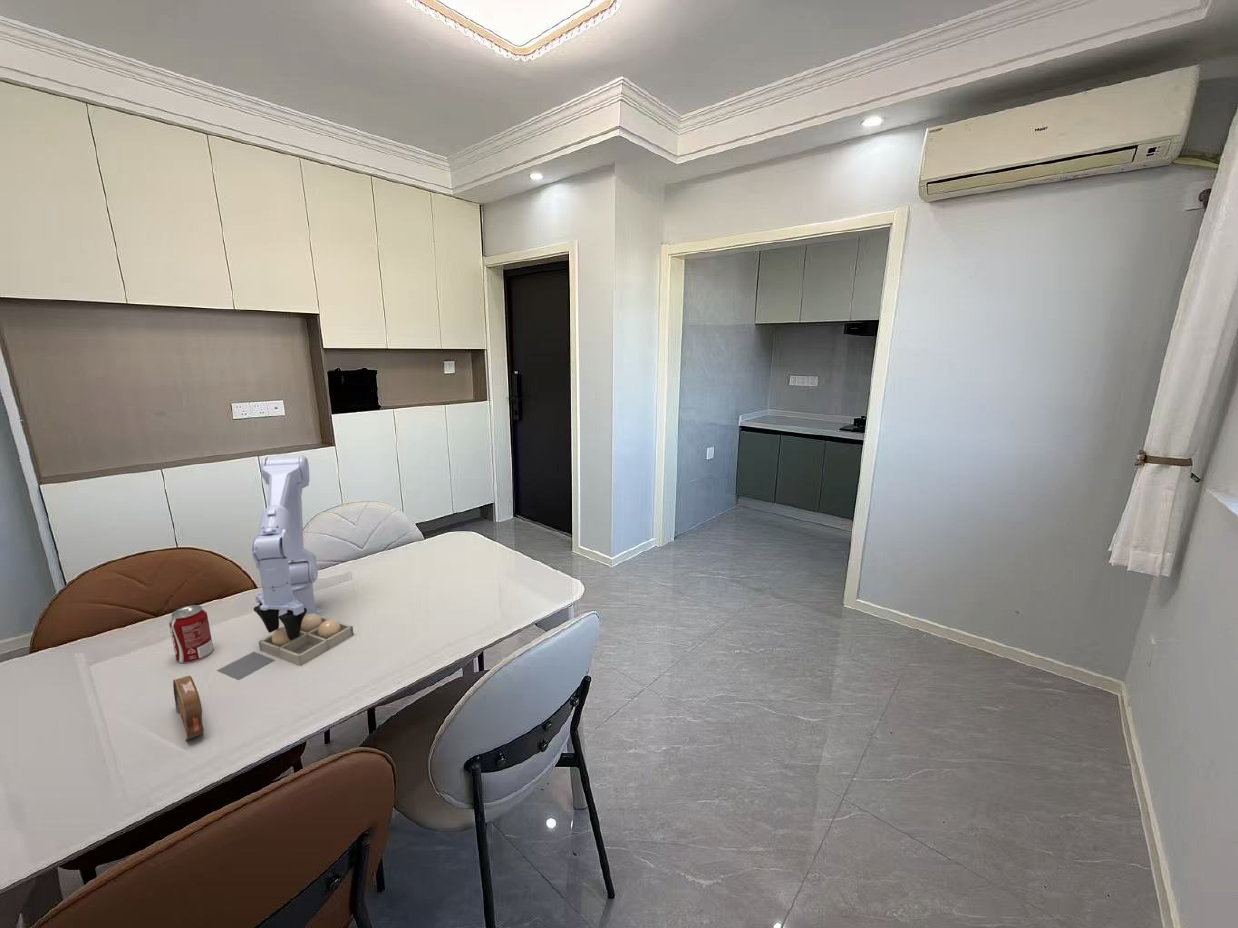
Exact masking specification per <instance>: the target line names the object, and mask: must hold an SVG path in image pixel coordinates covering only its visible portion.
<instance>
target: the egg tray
mask: <svg viewBox="0 0 1238 928" xmlns="http://www.w3.org/2000/svg"><path fill="white" fill-rule="evenodd" d="M319 616H320V617H321V619H322V623H323V622H324V621H326V620H333V619H331V618H328V617H325V616H323V615H319ZM336 621H337V620H336ZM337 622H338V623H339V624H340V627H341V630H340V632H339V633H337V634H335V635H333V636H332V637H330V638H328V639H324V638H321V637H319V636H318V628H319V627H317V628H316V629H314V630H312V631H310V632H308V633H307V632H304V631H301V630H300V634H299V637H297V638H296V639H295V640H293V641H291V642H289V643H287V644H285V645H283V646H281V647H278V646H275V645H273V643H272V636H273V634H271V635H269V636H267V637H265V638H263V639H261V640H259V641H258V647H259V651H260V652H261V653H265V654H268V655H271V656H273V657H276V658H278V659H281V660H284V661H286V662H288V663H291V664H293V665H296V666H299V667H301V666H302V665H304V664H306V663H308V662H309V661H311V660H312V659H315V658H316V657H319V656H320V655H321V654H323V653H326V652H327V651H328V650H330V649H331V648H333V647H335V646H337V645H339V644H340V643H342V642H344V641H346V640H347V639H349V638H350V637H352V636H354V626H353V625H350V624H347V623H343V622H341V621H337ZM308 644H309V645H311V647H310V648H308V649H307V650H305V651H303V652H301V653H296V652H295V651H297V650H299V649H300V648H302V647H304V646H307V645H308Z"/></svg>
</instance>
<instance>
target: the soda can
mask: <svg viewBox="0 0 1238 928" xmlns="http://www.w3.org/2000/svg"><path fill="white" fill-rule="evenodd" d="M170 617H171V618H170V620H169V621H168V624H169V625H168V626H169V632H170V635H171V636H170V637H171V640H172V644H173V645H172V646H173V651H174V655H175V661H176V662H177V663H179V664H189V663H190V664H191V663H195V662H198V661H201V660H203V659H205V658H206V657H209V656H210V655H211V654H212V653H213V651H214V646H213V645H214V644H213V639H212V635H211V628H210V623H209V618H208V613H207V611H205V610H204V609H203V606H201V605H199V604H197V605H196V604H195V605H188V606H183V607H181V608H178V609H176V610H175V611H173V612H172V613H171V616H170Z"/></svg>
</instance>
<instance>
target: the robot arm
mask: <svg viewBox="0 0 1238 928" xmlns="http://www.w3.org/2000/svg"><path fill="white" fill-rule="evenodd" d="M260 473H261V477H262V479H264V483H265V484H266V485H268V501H267V502H268V503H267V504H268V505H267V507H266V508H264V509H263V510H262V511H261V515H260V521H259V522H260V523H259V529H258V534H257V537H255V538H253V540H252V542H251V554H252V558H253V561H254V563H255V567H256V569H258V570H259V576H260V584H261V591H262V592H260V593H258V594H256V595H255V602H256V603H257V604H258V605H257V606H254V607H253V611H254V612H255V613H256V614H257V615H258V616H259V617H260V620H262V621H261V622H263V625H264V626H265V628H266V630H267V632H268V633H269V634H271V633H274V632H275V631H276V630H277V629H279V628H280V622H281V623H282V624H283V627H285V629H286V632H287V636H288V638H289V640H293V639H295V638H297V637H299V634H300V629H301V624H302V621H303V618H304V616H306V615H308V614H317V615H318V614H319V613H322V612H324V609H323V608H319V607H316V601H315V593H314V592H315V591H314V584H315V582H316V581H317V579H318V576H319V569H318V568H319V567H318V564H317V556H316V555H315V553H313V552H312V551H310V550H307V549H306V548H305V547H304V527H303V526H304V525H303V505H302V501H303V499H302V496H303V489H304V488H306V487H308V486H309V485H310V484H309V483H310V466H309V460H308V458H307V456H305V455H299V456H296V455H295V456H275V457H267V456H266V457H264V458H263V459H262V460H261V461H260ZM299 560H300V561H299ZM290 561H291V562H290Z"/></svg>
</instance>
